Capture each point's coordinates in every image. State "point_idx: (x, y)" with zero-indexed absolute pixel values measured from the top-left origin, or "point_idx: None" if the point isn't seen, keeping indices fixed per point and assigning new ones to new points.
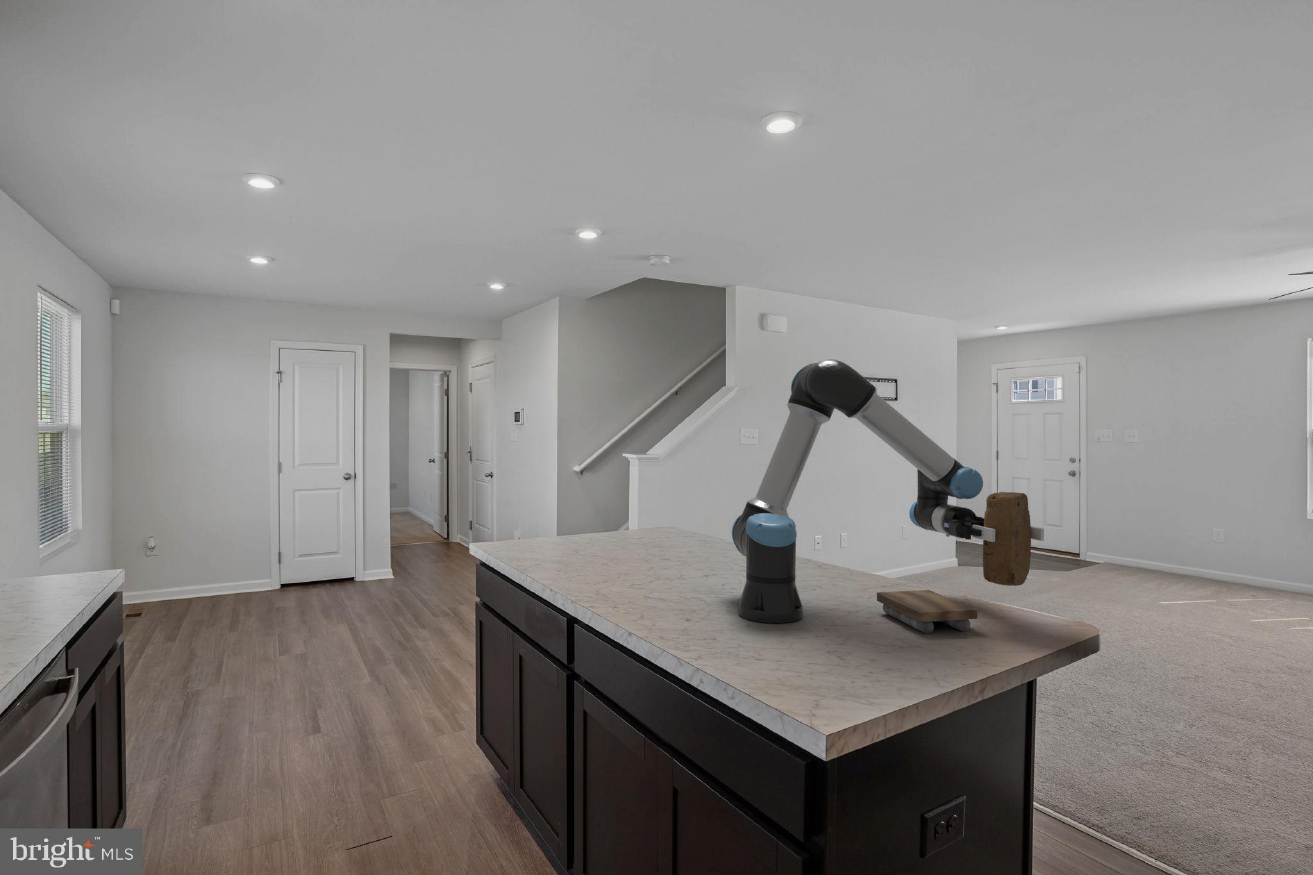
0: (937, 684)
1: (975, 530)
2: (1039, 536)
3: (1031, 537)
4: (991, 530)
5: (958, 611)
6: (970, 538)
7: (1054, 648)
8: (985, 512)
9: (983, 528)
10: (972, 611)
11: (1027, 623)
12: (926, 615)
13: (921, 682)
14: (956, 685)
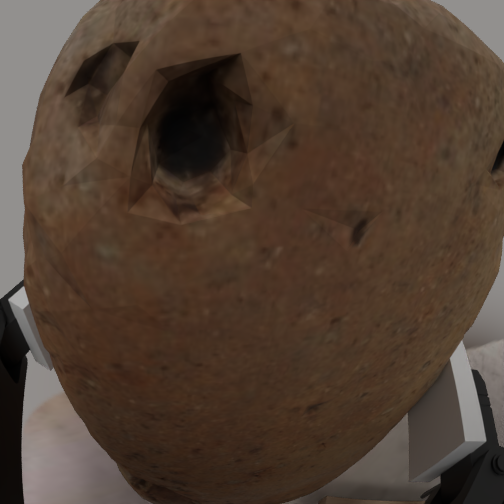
0: (483, 358)
1: (481, 386)
2: None
3: None
4: None
5: (381, 501)
6: (430, 490)
7: None
8: (497, 260)
9: (459, 344)
10: (340, 498)
11: (115, 489)
12: None
13: (494, 365)
14: (469, 351)
